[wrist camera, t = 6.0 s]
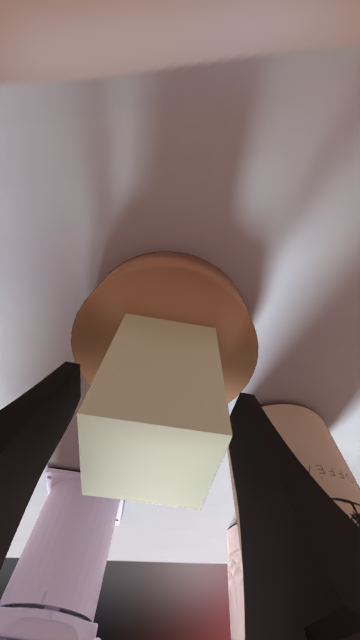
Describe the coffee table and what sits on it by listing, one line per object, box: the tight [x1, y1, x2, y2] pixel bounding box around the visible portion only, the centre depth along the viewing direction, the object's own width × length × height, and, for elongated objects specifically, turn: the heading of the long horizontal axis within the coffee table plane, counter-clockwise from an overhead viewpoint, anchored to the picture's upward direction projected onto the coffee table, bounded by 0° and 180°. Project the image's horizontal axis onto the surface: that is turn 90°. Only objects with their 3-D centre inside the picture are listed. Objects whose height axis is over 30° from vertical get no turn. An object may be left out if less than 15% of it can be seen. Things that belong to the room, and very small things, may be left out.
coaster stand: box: [71, 252, 258, 404], centre depth 15 cm, size 10×10×3 cm
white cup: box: [227, 524, 245, 640], centre depth 25 cm, size 8×8×10 cm
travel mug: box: [227, 404, 360, 567], centre depth 13 cm, size 8×8×18 cm
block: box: [77, 314, 233, 510], centre depth 11 cm, size 4×4×6 cm
